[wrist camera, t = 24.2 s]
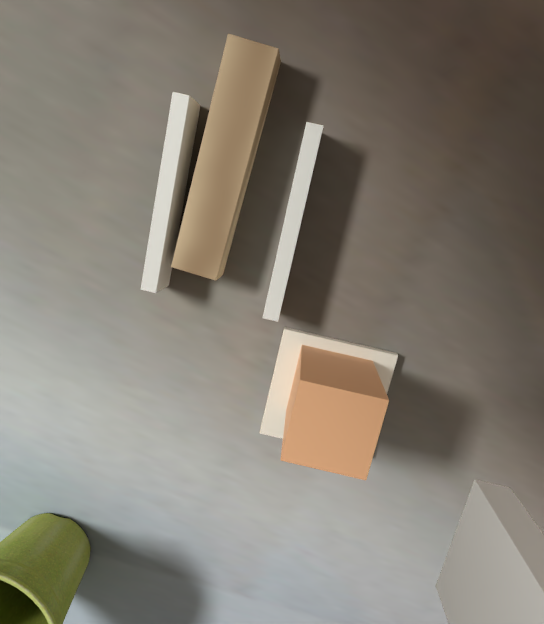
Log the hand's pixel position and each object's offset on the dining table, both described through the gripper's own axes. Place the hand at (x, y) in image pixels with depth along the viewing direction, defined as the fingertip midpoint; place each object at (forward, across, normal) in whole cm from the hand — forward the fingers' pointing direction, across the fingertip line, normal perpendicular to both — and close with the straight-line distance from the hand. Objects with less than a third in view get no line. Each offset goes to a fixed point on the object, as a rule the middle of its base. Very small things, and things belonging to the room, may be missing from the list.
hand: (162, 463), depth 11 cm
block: (+23, +6, -6) cm, 25 cm away
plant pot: (+24, -11, -25) cm, 36 cm away
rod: (+24, -4, +7) cm, 25 cm away
